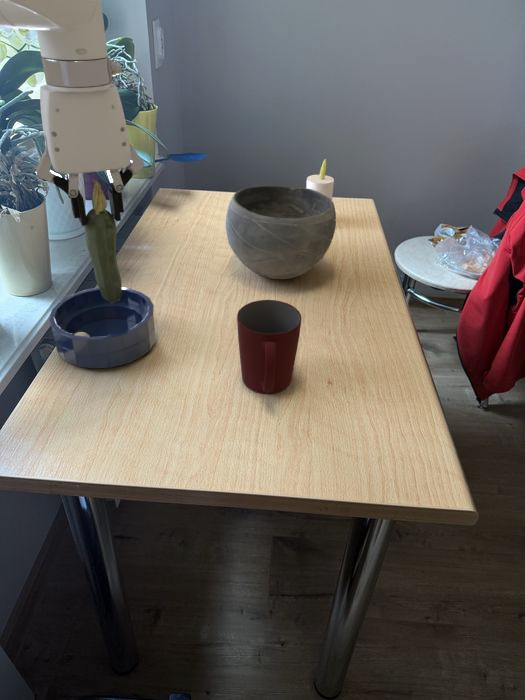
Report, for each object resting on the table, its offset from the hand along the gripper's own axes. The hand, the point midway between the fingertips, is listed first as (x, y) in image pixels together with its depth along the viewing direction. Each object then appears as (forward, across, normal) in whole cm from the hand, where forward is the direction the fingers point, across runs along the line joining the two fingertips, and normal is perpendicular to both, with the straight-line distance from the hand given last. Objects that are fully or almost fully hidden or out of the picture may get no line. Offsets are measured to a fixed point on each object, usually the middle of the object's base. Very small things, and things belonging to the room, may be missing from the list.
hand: (99, 218), depth 74 cm
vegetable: (+15, 0, -2) cm, 15 cm away
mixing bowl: (+21, +2, 0) cm, 21 cm away
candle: (+20, -55, -31) cm, 67 cm away
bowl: (+21, -35, -12) cm, 43 cm away
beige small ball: (+19, +6, +1) cm, 20 cm away
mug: (+21, -17, +20) cm, 34 cm away
